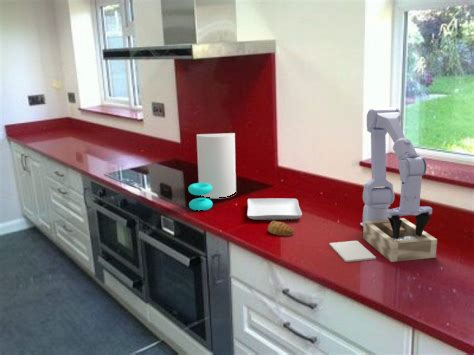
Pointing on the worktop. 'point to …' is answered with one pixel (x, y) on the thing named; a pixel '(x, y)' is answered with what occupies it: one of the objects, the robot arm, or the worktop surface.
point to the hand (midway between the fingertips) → (407, 236)
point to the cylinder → (217, 163)
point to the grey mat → (352, 251)
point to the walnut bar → (388, 229)
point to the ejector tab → (404, 237)
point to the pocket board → (399, 242)
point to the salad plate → (273, 209)
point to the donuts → (200, 202)
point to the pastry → (280, 228)
